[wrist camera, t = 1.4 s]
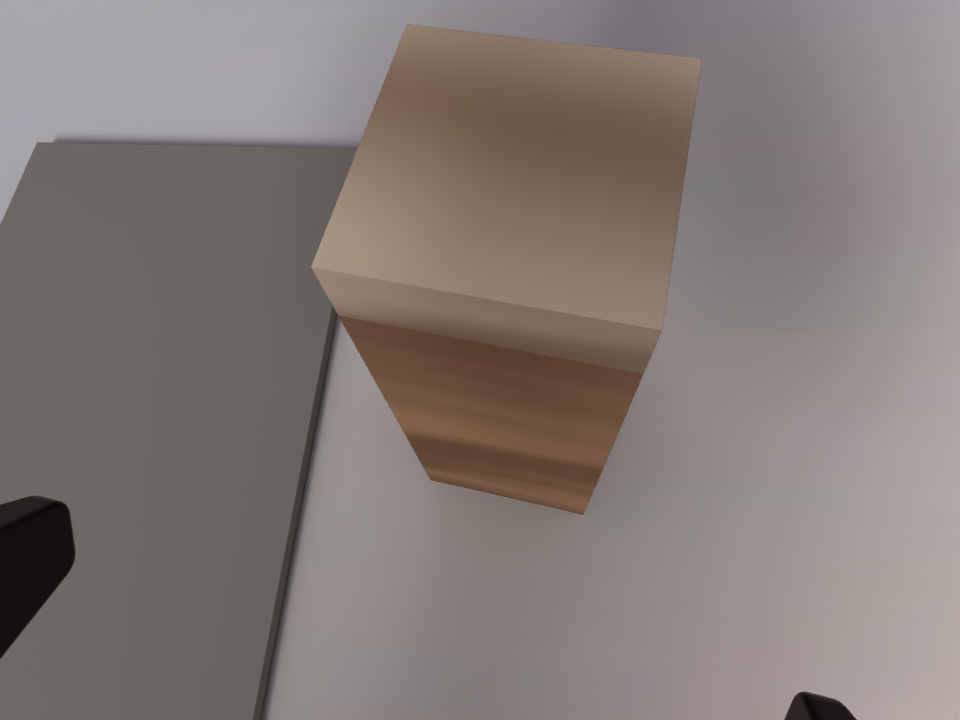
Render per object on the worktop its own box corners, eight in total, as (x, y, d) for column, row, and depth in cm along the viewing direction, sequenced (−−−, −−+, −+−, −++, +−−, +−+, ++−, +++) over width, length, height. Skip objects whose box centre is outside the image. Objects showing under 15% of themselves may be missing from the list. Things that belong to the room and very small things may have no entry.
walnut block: (583, 514, 21) (661, 329, 9) (430, 479, 21) (310, 267, 9) (608, 370, 22) (702, 58, 11) (467, 343, 23) (406, 24, 11)
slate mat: (230, 876, 17) (220, 884, 17) (-244, 818, 19) (-267, 823, 18) (365, 158, 27) (362, 148, 26) (46, 152, 28) (37, 142, 28)
